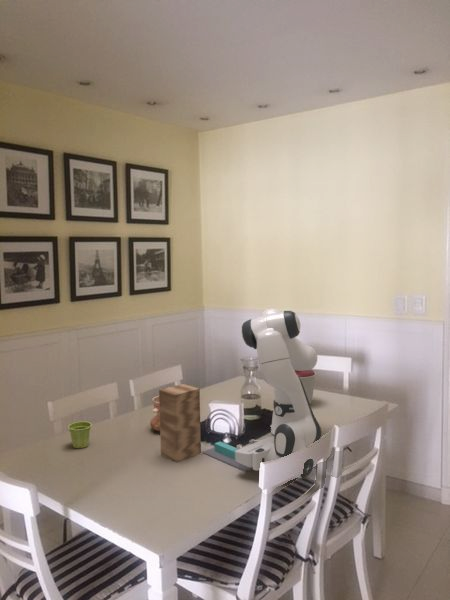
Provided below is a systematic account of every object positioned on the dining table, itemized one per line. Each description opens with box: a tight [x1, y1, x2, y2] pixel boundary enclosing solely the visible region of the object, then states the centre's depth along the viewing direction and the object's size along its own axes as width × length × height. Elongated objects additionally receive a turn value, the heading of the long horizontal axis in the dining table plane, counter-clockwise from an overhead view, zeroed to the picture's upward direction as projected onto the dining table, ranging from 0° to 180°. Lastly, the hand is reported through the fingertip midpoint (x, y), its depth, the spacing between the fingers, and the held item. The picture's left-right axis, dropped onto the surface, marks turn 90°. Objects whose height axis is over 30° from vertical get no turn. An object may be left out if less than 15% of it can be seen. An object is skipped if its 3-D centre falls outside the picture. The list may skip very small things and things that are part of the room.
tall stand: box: [158, 383, 202, 463], centre depth 195 cm, size 12×10×26 cm
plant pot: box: [67, 421, 93, 449], centre depth 206 cm, size 9×9×9 cm
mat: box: [202, 446, 253, 473], centre depth 192 cm, size 11×24×1 cm, turn 43°
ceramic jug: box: [149, 395, 160, 433], centre depth 223 cm, size 18×14×14 cm
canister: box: [294, 369, 317, 405], centre depth 255 cm, size 18×18×21 cm
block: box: [214, 441, 237, 459], centre depth 190 cm, size 3×22×3 cm, turn 43°
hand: (244, 444), depth 187 cm, fingers open, 5 cm apart
